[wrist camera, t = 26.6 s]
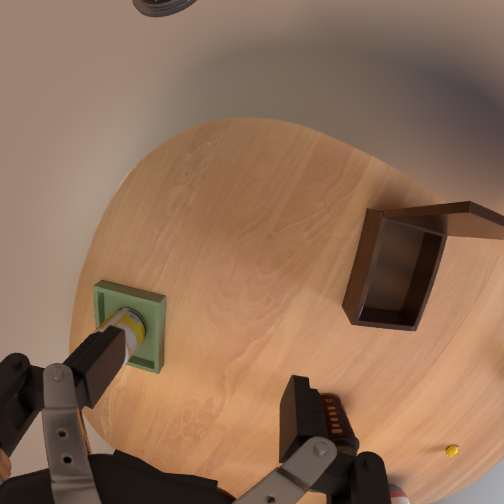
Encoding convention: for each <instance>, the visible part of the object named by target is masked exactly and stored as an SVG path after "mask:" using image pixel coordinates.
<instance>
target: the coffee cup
mask: <svg viewBox="0 0 504 504" xmlns="http://www.w3.org/2000/svg"><path fill="white" fill-rule="evenodd" d="M321 397H322V400H323V407H324V412H325V413H324V414H325V419H326V425H327V432H328V438H329V440H330V441H332V442H333V443H334V444H335V446H336V448H337V450H338V451H340V452H342V453H345V454H349V455H352V456H356V455H357V451H358V449H359V440H358V439H357V437H355V434H354V432H353V429H352V427H351V425H350V422H349V419H348V417H347V414H346V411H345V410H344V407H343V405H342V404H341V399H340V397H339V396H337V395H335V394H321Z"/></svg>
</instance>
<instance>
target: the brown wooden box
mask: <svg viewBox="0 0 504 504" xmlns="http://www.w3.org/2000/svg"><path fill="white" fill-rule="evenodd" d="M447 236H448V235H445V234H442V233H438V232H435V231H431V230H428V229H424V228H421V227H417V226H413V225H410V224H406V223H402V222H398V221H394V220H391V219H387V218H384V213H383V212H380V211H376V210H372V209H368V208H367V211H366V216H365V220H364V225H363V229H362V233H361V238H360V242H359V246H358V250H357V254H356V258H355V261H354V265H353V269H352V273H351V276H350V280H349V283H348V287H347V290H346V294H345V297H344V300H343V304H342V308H343V309H344V311H345V313H346V315H347V317H348V319H349V321H350V323H351V325H358V326H367V327H376V328H385V329H395V330H405V331H416V330H417V327H418V325H419V323H420V320H421V318H422V315H423V312H424V310H425V307H426V304H427V302H428V299H429V296H430V293H431V290H432V287H433V284H434V281H435V278H436V275H437V272H438V268H439V265H440V262H441V258H442V255H443V251H444V247H445V243H446V240H447Z"/></svg>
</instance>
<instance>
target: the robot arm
mask: <svg viewBox="0 0 504 504" xmlns="http://www.w3.org/2000/svg"><path fill="white" fill-rule="evenodd" d="M140 1H141V2H142V3H143V4H144V5H146V6H149V7H162V6H166V5H169V4H172V3H174V2H177V1H179V0H140ZM125 357H126V334H125V330H124V329H121V328H118V327H115V326H113V325H109V326H108V327H107V328H106V329H105V330H104V331H103V332H100V331H97V332H95V333H93V334H90V335H89V336H88V337H87V338H86V339H85V340H84V342H82V343H81V344H80V345H79V347H77V349H76V350H75V351H74V352H73V353H72V354H71V355H70V356H69V357H68V358H67V359H66V360H65V361H64V362H63V363H62V364H61V363H54V364H51V365H49V366H47V367H46V368H41V367H37V366H33V365H30V362H29V359H28V358H27V356H25V355H24V354H21V353H12V354H10V355H8V356H7V357H6V358H5V359H4V360H3V361H2V362H1V363H0V504H296V503H297V502H298V501H299V500H300V498H301V497H302V496H303V495H304V494H305V493H306V492H307V491H308V490H309V489H311V490H314V491H317V492H321V493H324V494H326V498H327V504H392V503H391V497H390V492H389V486H388V481H387V475H386V470H385V465H384V462H383V460H382V458H381V457H380V456H379V455H377V454H376V453H373V452H368V451H366V452H362V453H360V454H358V455H357V456H352V455H349V454H345V453H342V452H340V451H338V450H337V448H336V446H335V444H334V443H333V442H332V441H330V440H329V438H328V432H327V425H326V419H325V414H324V413H325V412H324V407H323V400H322V397H321V395H320V394H319V392H318V391H317V389H311V388H310V385H309V378H308V377H303V376H297V375H292V376H291V378H290V380H289V382H288V385H287V387H286V389H285V391H284V394H283V396H282V399H281V403H280V441H279V463H283V464H282V465H281V466H280V467H279V468H278V467H277V468H275V469H274V470H273V471H271V472H270V473H269V474H268V475H267V476H266V477H264V478H263V479H262V480H261V481H260V482H258V483H257V484H256V485H255V486H253V487H252V488H251V489H250V490H248V491H247V492H246V493H245V494H243V495H242V496H241V497H239V498H238V499H236V498H235V497H234V496H233V495H231V494H230V493H228V492H227V491H225V490H223V489H221V488H219V487H217V484H218V481H216V480H211V479H207V478H203V477H198V476H194V475H186V474H173V473H164V472H161V471H160V470H158V469H156V468H154V467H153V466H151V465H149V464H148V463H146V462H144V461H143V460H141V459H139V458H137V457H134V456H132V455H129V454H126V453H124V452H121V451H119V450H117V449H116V450H115V452H114V454H113V455H111V454H92V451H91V448H90V445H89V441H88V437H87V432H86V429H85V424H84V419H83V415H82V409H83V408H84V406H87V407H89V408H91V409H93V408H94V406H95V405H96V403H97V402H98V400H99V399H100V397H101V396H102V395H103V393H104V392H105V390H106V389H107V387H108V386H109V384H110V383H111V381H112V380H113V379H114V377H115V376H116V374H117V373H118V371H119V370H120V368H121V367H122V366H123V364H124V361H125ZM40 411H42V422H43V432H44V440H45V447H46V454H47V460H48V466H49V468H47V469H44V470H40V471H36V472H32V473H29V474H24V475H20V476H16V477H12V478H9V476H10V475H11V472H10V471H11V462H10V459H9V457H10V456H11V454H12V452H13V451H14V449H15V448H16V446H17V445H18V443H19V442H20V440H21V439H22V437H23V435H24V434H25V433H26V431H27V430H28V428H29V426H30V425H31V424H32V422H33V421H34V419H35V418H36V416H37V415H38V413H39V412H40Z"/></svg>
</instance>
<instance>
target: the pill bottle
mask: <svg viewBox="0 0 504 504" xmlns="http://www.w3.org/2000/svg"><path fill="white" fill-rule="evenodd" d="M109 325H113V326H115V327H118V328H121V329H124V330H125V334H126V357H125V361H124V364H123V366H122V367H124V366H125V365H126V363H127V362H128V361H129V359H130V358H131V356H132V355H133V354H134V352H135V351H136V349H137V348H138V347H139V345H140V344H141V342H142V341H143V340H144V338H145V336H146V332H147V328H146V324H145V322H144V320H143V318H142V317H141V316H140V315H139V314H138V313H137V312H136V311H134V310H132V309H129V308H120V309H118V310H116V311H115V312H114V313H113V314H112V315H111V316H109V317H108V318H107V319H106V320H105V321H104V322H103V323H102V324H101V325H100V326H99V327H98V328H97V329H96V330H95V331H94V332H93V333H95V332H97V331H100V332H103V331H104V330H105V329H106V328H107V327H108V326H109ZM93 333H92V334H93ZM122 367H121V368H122Z"/></svg>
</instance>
